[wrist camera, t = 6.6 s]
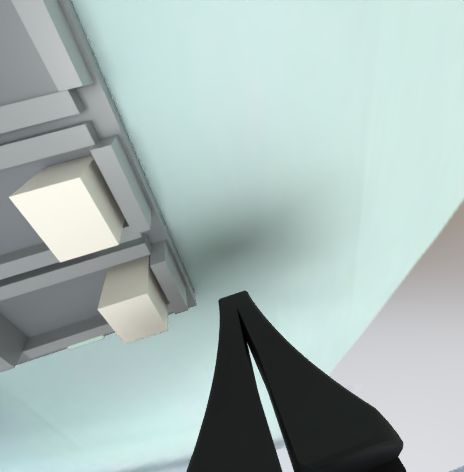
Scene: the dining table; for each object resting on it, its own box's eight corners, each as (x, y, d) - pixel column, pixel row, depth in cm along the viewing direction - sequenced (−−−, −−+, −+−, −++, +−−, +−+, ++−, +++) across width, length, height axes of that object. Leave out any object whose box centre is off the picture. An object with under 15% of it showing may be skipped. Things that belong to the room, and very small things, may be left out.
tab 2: (130, 301, 16) (125, 344, 14) (108, 267, 15) (97, 309, 12) (166, 289, 17) (168, 330, 14) (149, 254, 15) (147, 293, 12)
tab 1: (80, 223, 13) (60, 262, 10) (43, 167, 11) (8, 197, 9) (126, 210, 13) (118, 244, 11) (97, 153, 11) (79, 177, 9)
